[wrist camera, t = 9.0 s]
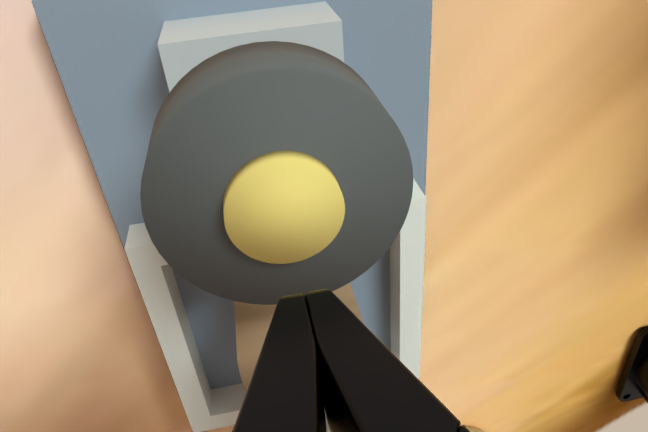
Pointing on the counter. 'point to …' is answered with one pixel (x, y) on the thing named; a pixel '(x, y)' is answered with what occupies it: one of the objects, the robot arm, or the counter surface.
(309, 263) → the wheel
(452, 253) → the counter surface
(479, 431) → the sprinkles bottle
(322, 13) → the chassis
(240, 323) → the brown block
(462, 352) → the counter surface
